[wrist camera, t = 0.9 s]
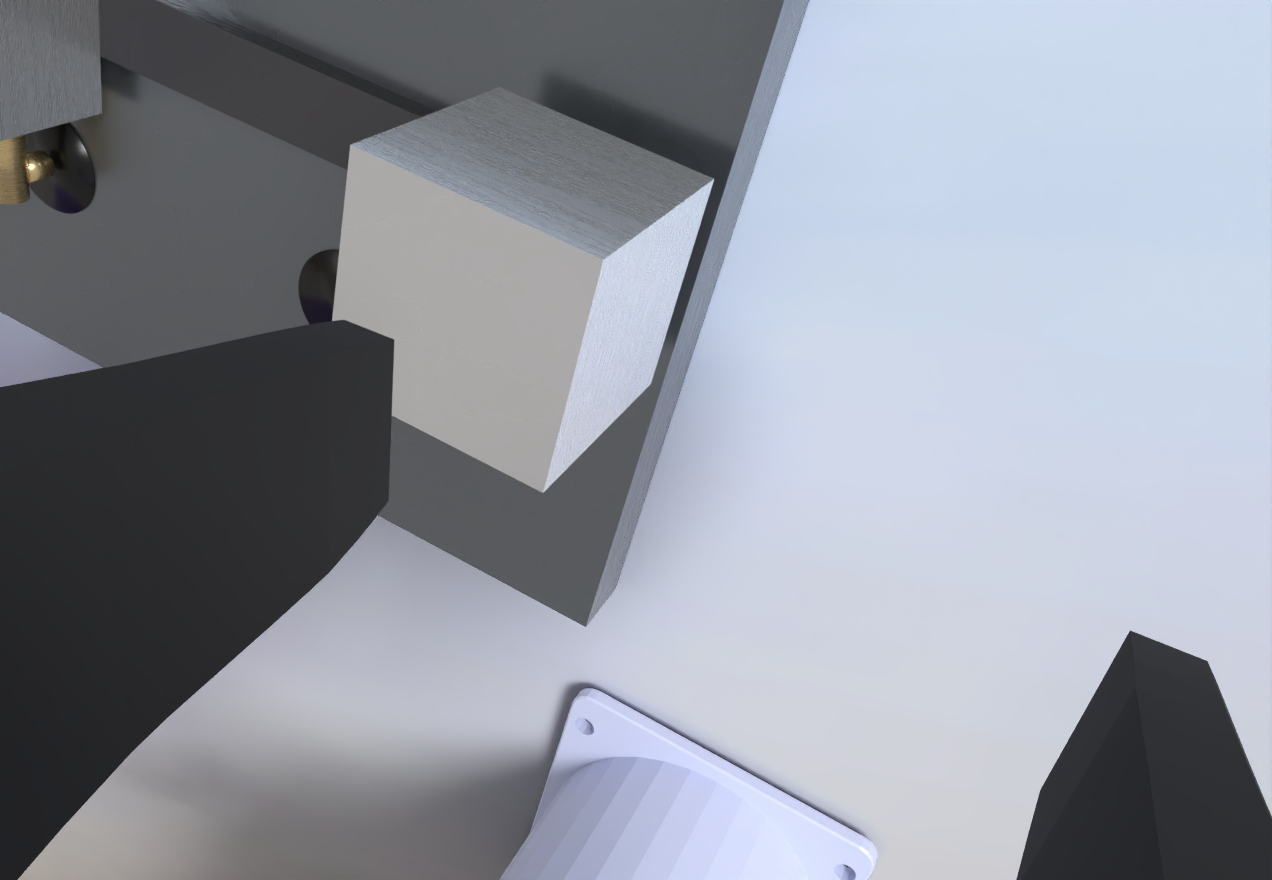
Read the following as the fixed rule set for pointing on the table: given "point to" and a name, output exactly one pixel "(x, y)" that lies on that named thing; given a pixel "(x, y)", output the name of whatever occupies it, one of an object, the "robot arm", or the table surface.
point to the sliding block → (515, 274)
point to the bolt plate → (315, 192)
